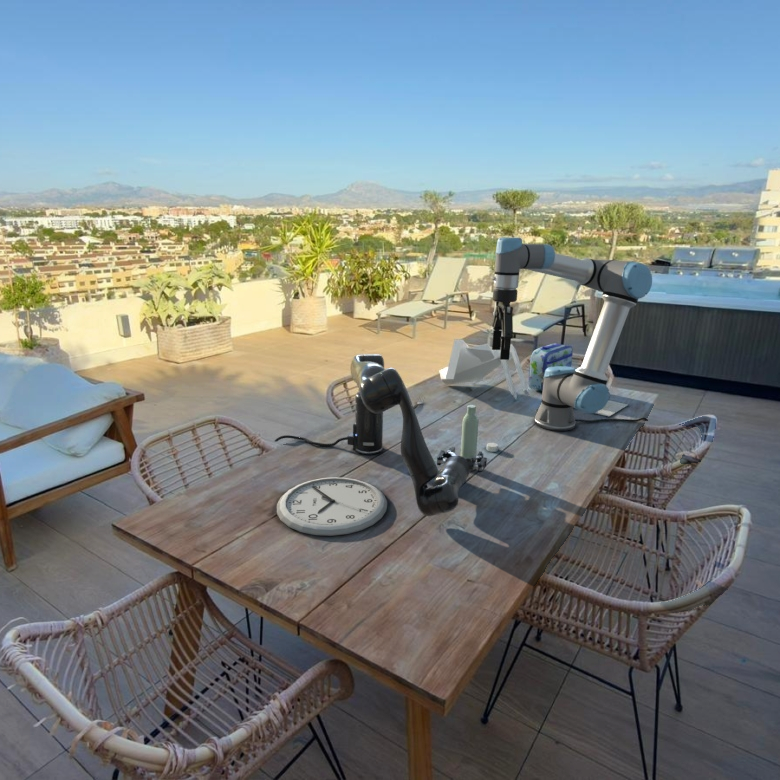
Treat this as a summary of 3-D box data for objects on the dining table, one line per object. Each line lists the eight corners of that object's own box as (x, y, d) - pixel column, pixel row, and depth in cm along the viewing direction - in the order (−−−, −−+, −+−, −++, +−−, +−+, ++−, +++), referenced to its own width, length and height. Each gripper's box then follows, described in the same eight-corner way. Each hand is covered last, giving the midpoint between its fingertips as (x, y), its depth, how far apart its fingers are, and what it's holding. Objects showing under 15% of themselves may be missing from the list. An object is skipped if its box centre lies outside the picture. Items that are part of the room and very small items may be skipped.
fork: (408, 411, 216) (408, 407, 215) (419, 400, 230) (419, 396, 229) (414, 412, 215) (414, 407, 214) (425, 401, 229) (425, 396, 229)
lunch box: (544, 395, 239) (549, 351, 233) (524, 390, 247) (528, 347, 240) (571, 384, 257) (577, 343, 251) (552, 380, 264) (556, 339, 258)
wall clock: (392, 527, 129) (268, 531, 127) (391, 533, 130) (269, 537, 127) (383, 473, 158) (282, 475, 155) (383, 478, 158) (282, 480, 156)
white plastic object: (461, 429, 252) (437, 405, 227) (444, 352, 274) (420, 323, 250) (535, 404, 240) (518, 377, 215) (510, 326, 262) (492, 293, 237)
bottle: (468, 462, 170) (472, 402, 164) (478, 468, 166) (483, 407, 160) (456, 466, 168) (460, 405, 161) (466, 471, 164) (471, 409, 158)
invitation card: (608, 416, 214) (573, 407, 224) (608, 416, 214) (573, 408, 224) (628, 404, 229) (594, 396, 238) (628, 405, 229) (594, 397, 238)
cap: (484, 448, 182) (484, 443, 181) (494, 447, 183) (494, 442, 182) (489, 452, 178) (489, 447, 178) (499, 451, 179) (500, 446, 179)
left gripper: (479, 465, 145) (490, 444, 159) (430, 457, 150) (445, 437, 164) (477, 490, 147) (488, 466, 162) (429, 480, 152) (444, 459, 166)
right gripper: (486, 284, 176) (482, 345, 182) (501, 293, 152) (496, 363, 158) (508, 284, 176) (503, 346, 182) (527, 293, 152) (520, 364, 159)
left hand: (467, 452), depth 163 cm, fingers open, 8 cm apart
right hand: (500, 354), depth 170 cm, fingers open, 13 cm apart
